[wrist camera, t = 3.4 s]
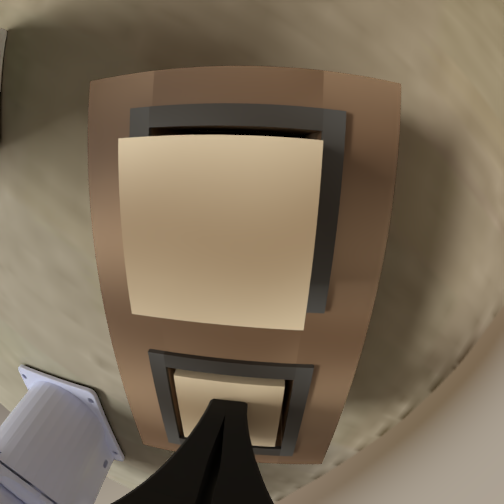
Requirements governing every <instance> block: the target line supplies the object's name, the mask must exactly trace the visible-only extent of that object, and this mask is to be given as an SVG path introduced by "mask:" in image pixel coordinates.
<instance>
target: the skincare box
mask: <svg viewBox="0 0 504 504" xmlns="http://www.w3.org/2000/svg"><path fill="white" fill-rule="evenodd" d="M6 36H7V31H6V30H5V29H2V28H0V90H1V75H2V64H3V55H4V48H5V42H6Z"/></svg>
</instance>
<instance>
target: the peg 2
mask: <svg viewBox="0 0 504 504" xmlns="http://www.w3.org/2000/svg"><path fill="white" fill-rule="evenodd" d="M174 381H175V387H176V393H177V399H178V405H179V411H180V416H181V421H182V427H183V432H184V437H188V436H189V434H190V433H191V432H192V430H193V429H194V427H195V426H196V425H197V423H198V422H199V420H200V418H201V417H202V415H203V414H204V412H205V410H206V408H207V406H208V404H209V402H210V400H212V399H221V400H230V401H240V402H246V403H247V404H248V408H247V420H248V428H249V434H250V439H251V444H252V445H253V446H267V447H275V443H276V437H277V431H278V425H279V420H280V414H281V408H282V401H283V395H284V389H285V380H283V379H266V378H252V377H241V376H230V375H221V374H212V373H204V372H196V371H189V370H182V369H176V371H175V373H174Z"/></svg>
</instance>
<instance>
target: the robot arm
mask: <svg viewBox="0 0 504 504" xmlns="http://www.w3.org/2000/svg"><path fill="white" fill-rule="evenodd" d="M18 369H19V372H20V374H21V376H22V378H23V380H24V382H25V384H26V386H27V388H28V392H27V393H26V394H25V395H24V397H23V398H22V399H21V400H20V402H19V403H18V404H17V405H16V407H15V408H14V409H13V410H12V412H11V413H10V414H9V416H8V417H7V418H6V420H5V421H4V422H3V423H2V425H1V426H0V504H94V502H95V500H96V498H97V496H98V493H99V491H100V489H101V487H102V484H103V482H104V480H105V478H106V475H107V473H108V471H109V469H110V467H111V464H112V462H113V460H114V459H115V460H118V461H124V458H125V457H124V455H123V453H122V451H121V449H120V447H119V445H118V443H117V441H116V439H115V436H114V434H113V432H112V430H111V428H110V425H109V423H108V421H107V418H106V416H105V414H104V411H103V409H102V406H101V404H100V401H99V399H98V396H97V394H96V392H95V391H94V390H92V389H90V388H87V387H84V386H81V385H78V384H74V383H71V382H68V381H65V380H62V379H59V378H56V377H54V376H51V375H48V374H45V373H43V372H40V371H37V370H35V369H32V368H29V367H27V366H24V365H20V366H19V367H18ZM247 408H248V404H247V403H246V402H240V401H230V400H221V399H212V400H210V402H209V404H208V406H207V408H206V410H205V412H204V414H203V415H202V417H201V418H200V420H199V422H198V423H197V425H196V426H195V427H194V429H193V430H192V432H191V433H190V434H189V436H188V437H187V438H186V440H185V441H184V442H183V443H182V445H181V446H180V447H179V448H178V449H177V451H176V452H175V453H174V454H173V455H172V456H171V457H170V458H169V459H168V461H167V462H166V463H165V464H164V465H162V466H161V467H160V468H159V469H158V470H157V471H156V472H155V473H154V474H153V475H152V476H150V477H149V478H148V479H147V480H146V481H144V482H143V483H142V484H141V485H139V486H138V487H136V488H135V489H134V490H132V491H131V492H129V493H128V494H126V495H125V496H123V497H122V498H120V499H119V500H117V501H115V502H113V503H111V504H274V503H273V501H272V499H271V497H270V495H269V493H268V491H267V489H266V486H265V484H264V481H263V479H262V476H261V474H260V471H259V468H258V465H257V462H256V459H255V455H254V452H253V448H252V444H251V439H250V434H249V428H248V420H247Z"/></svg>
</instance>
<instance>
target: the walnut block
mask: <svg viewBox="0 0 504 504" xmlns="http://www.w3.org/2000/svg"><path fill="white" fill-rule="evenodd" d="M400 110H401V84H400V83H395V82H391V81H386V80H381V79H376V78H370V77H365V76H359V75H352V74H346V73H339V72H331V71H323V70H313V69H303V68H290V67H272V66H206V67H188V68H175V69H165V70H155V71H147V72H140V73H133V74H126V75H120V76H114V77H108V78H103V79H98V80H93V81H90V90H89V108H88V175H89V194H90V208H91V220H92V230H93V239H94V247H95V255H96V262H97V269H98V275H99V281H100V287H101V293H102V298H103V304H104V309H105V314H106V318H107V323H108V328H109V332H110V337H111V341H112V345H113V349H114V353H115V357H116V361H117V364H118V368H119V372H120V375H121V379H122V382H123V386H124V389H125V392H126V395H127V399H128V402H129V405H130V408H131V411H132V414H133V417H134V420H135V423H136V425H137V428H138V431H139V434H140V437H141V439H142V442H143V444H144V445H148V446H152V447H157V448H161V449H166V450H171V451H177V449H178V448H179V447H180V446H181V445H182V443H183V442H184V441H185V440H186V438H187V437H184V432H183V427H182V421H181V416H180V411H179V405H178V399H177V393H176V387H175V381H174V373H175V371H176V369H182V370H189V371H196V372H204V373H212V374H221V375H230V376H241V377H252V378H266V379H283V380H285V389H284V395H283V401H282V408H281V414H280V420H279V425H278V431H277V437H276V443H275V447H267V446H253V445H252V448H253V452H254V455H255V459H256V462H259V463H277V464H322V461H323V459H324V457H325V454H326V452H327V450H328V447H329V445H330V442H331V440H332V437H333V435H334V432H335V429H336V427H337V424H338V422H339V419H340V416H341V413H342V411H343V408H344V405H345V402H346V399H347V396H348V393H349V390H350V387H351V384H352V381H353V378H354V375H355V372H356V369H357V365H358V362H359V359H360V355H361V352H362V348H363V345H364V341H365V338H366V334H367V330H368V326H369V322H370V319H371V315H372V310H373V306H374V302H375V298H376V293H377V289H378V284H379V280H380V275H381V270H382V265H383V260H384V254H385V249H386V243H387V238H388V231H389V225H390V219H391V212H392V204H393V197H394V189H395V180H396V170H397V159H398V147H399V132H400ZM196 131H227V132H261V133H280V134H295V135H306V139H314V140H323V154H322V169H321V182H320V194H319V205H318V216H317V226H316V236H315V245H314V254H313V263H312V271H311V279H310V287H309V295H308V302H307V309H306V316H305V323H304V330H286V329H270V328H255V327H243V326H231V325H220V324H210V323H200V322H191V321H183V320H174V319H166V318H158V317H151V316H144V315H137V314H132V311H131V304H130V298H129V291H128V284H127V276H126V268H125V259H124V249H123V239H122V227H121V214H120V196H119V168H118V138H131V137H147V136H168V135H193V132H196Z"/></svg>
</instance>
